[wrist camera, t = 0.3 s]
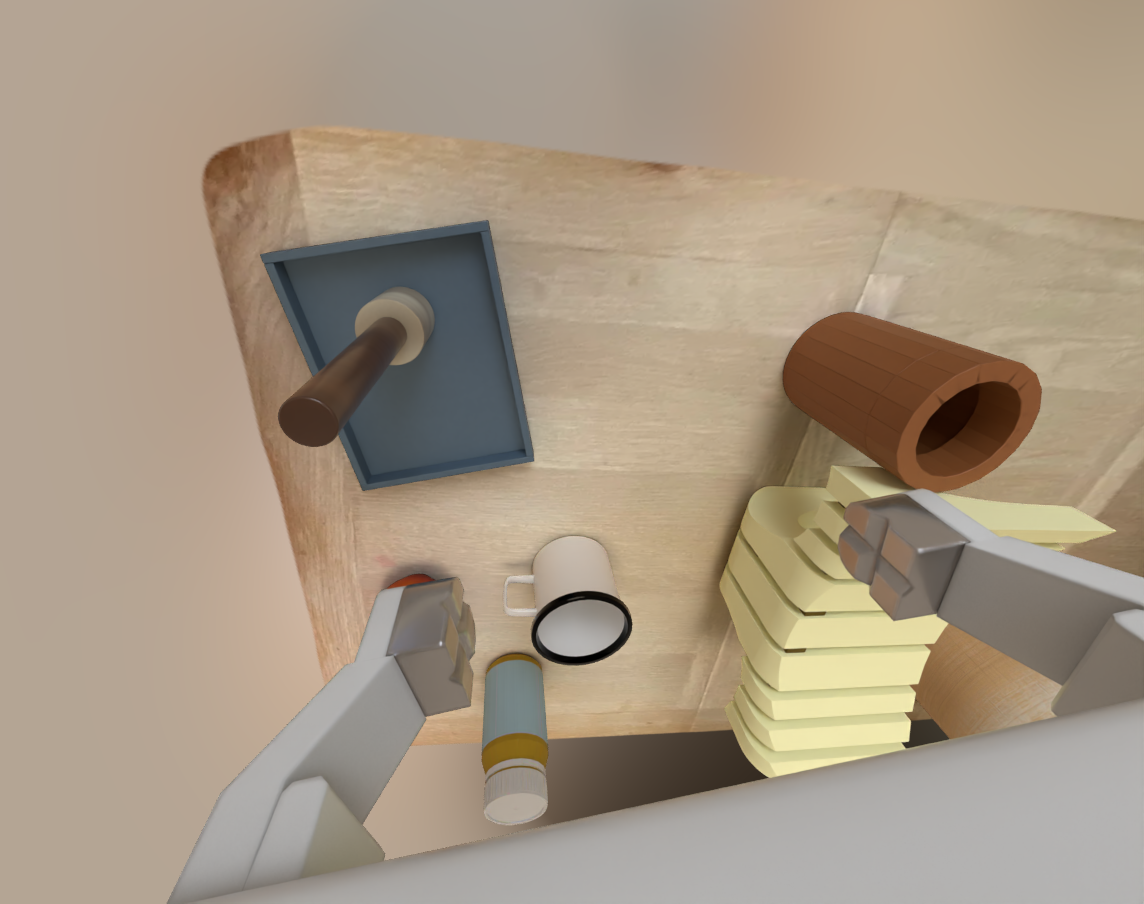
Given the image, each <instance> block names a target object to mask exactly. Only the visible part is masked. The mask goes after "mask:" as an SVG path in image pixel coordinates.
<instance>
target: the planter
mask: <svg viewBox="0 0 1144 904" xmlns="http://www.w3.org/2000/svg"><path fill="white" fill-rule="evenodd" d="M924 645H925V646H926V647H927V648H928V649H929V650H930V651H931V652H930V654H929V656H928V659H927V661H926V663H925V665H924V668H923V671H922V674H921V677H920V680H919V683H918V684H912V685H910V687H911V688H912V689H913V690H914V691H915V693H916V695H915V698H916V699H917V701H918V702H919V703H920V704H921V705H922V707H923V708H924V709H925V710H926V711H927V713H928V714H929V715H930V716H931V717H932V718H933V720H934V721H935V722H936V723H937V724H938V726H939V727H940V728H941V729H942V730H943V731H944V733H945V734H946V735H947V736H948V737H949V738H950V739H954V738H959V737H964V736H968V735H973V734H978V733H983V732H987V731H992V730H997V729H1001V728H1006V727H1011V726H1015V725H1020V724H1025V723H1029V722H1034V721H1039V720H1043V719H1048V718H1053V717H1057V716H1056V715H1055V714H1054V713H1053V712H1052V711H1051V702H1052V701H1053V699H1054V698H1055V696H1056V695H1057V693H1058V692H1059V690H1060V689H1061V688H1062V685H1060V684H1058V683H1056V682H1054V681H1053V680H1051V679H1049V678H1047V677H1045V676H1043V675H1042V674H1040V673H1038V672H1036V671H1034V670H1033V669H1031V668H1029V667H1027V666H1025V665H1024V664H1022V663H1020V662H1018V661H1016V660H1014V659H1013V658H1011V657H1009V656H1007V655H1005V654H1004V653H1002V652H1000V651H998V650H996V649H995V648H993V647H991V646H989V645H987V644H985V643H984V642H982V641H980V640H978V639H976V638H975V637H973V636H971V635H969V634H967V633H966V632H964V631H962V630H960V629H958V628H956V627H955V626H953V625H951V624H948V625H947V626H946V627H945V629H944V630H943V631H942V633H941V635H940V636H939V638H938V639H937V641H936V642H935V644H924Z"/></svg>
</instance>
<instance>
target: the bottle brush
mask: <svg viewBox="0 0 1144 904" xmlns="http://www.w3.org/2000/svg"><path fill="white" fill-rule="evenodd" d="M434 324H435V317H434V312H433V309H432V307H431V305H430V304H429V302H428V301H427V299H426V298H425V297H424V296H423V295H421V294H420V293H419V292H417V291H415V290H413V289H410V288H407V287H393V288H390V289H388V290H386V291H384V292H383V293H381V294H380V295H379V296H377V297H376V298H374V299H373V300H371V301H370V302H369V303H367V304H366V305H365V306H363V307H362V309H361V310H360V311H359V313H358V315H357V317H356V320H355V334H356V337H357V338H356V339H355V340H354V341H353V342H352V343H351V344H349V345H348V346H347V347H346V348H345V349H344V350H343V351H342V352H340V353H339V354H338V355H337V356H336V357H335V358H334V359H333V360H331V361H330V362H329V363H328V364H327V365H326V366H325V367H324V368H322V369H321V370H320V371H319V372H318V373H317V374H316V375H315V376H313V377H312V378H311V379H310V380H309V381H308V382H307V383H306V384H304V385H303V386H302V387H301V388H300V389H299V390H298V391H297V392H295V393H294V394H293V395H292V396H291V397H290V398H289V399H287V400H286V401H285V402H284V403H283V404H282V406H281V407H280V409H279V413H278V419H279V424H280V426H281V428H282V430H283V432H284V433H285V434H286V435H287V436H288V437H289V438H290V439H292V440H293V441H295V442H297V443H299V444H301V445H304V446H310V447H318V446H323V445H326V444H328V443H330V442H332V441H333V440H334V439H335V438H336V436H337V435H338V434H339V432H340V431H341V430H342V428H343V427H344V425H345V424H346V423H347V421H348V420H349V419H350V417H351V416H352V415H353V413H354V412H355V411H356V409H357V408H358V406H359V405H360V404H361V402H362V401H363V400H364V398H365V397H366V396H367V394H368V393H369V392H370V390H371V389H372V388H373V386H374V385H375V383H376V382H377V381H378V379H379V378H380V377H381V375H382V374H383V373H384V371H385V370H386V369H387V367H388V366H389V365H402V364H406V363H408V362H410V361H412V360H413V359H415V358H416V357H417V356H418V355H419V353H420V352H421V350H422V349H423V347H424V345H425V343H426V342H427V340H428V338H429V337H430V335H431V333H432V331H433V329H434Z"/></svg>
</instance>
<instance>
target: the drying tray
mask: <svg viewBox="0 0 1144 904" xmlns="http://www.w3.org/2000/svg"><path fill="white" fill-rule="evenodd" d="M260 256H261V259H262V261H263V263H264V265H265V268H266V270H267V272H268V274H269V277H270V279H271V281H272V284H273V286H274V288H275V291H276V293H277V295H278V297H279V300H280V302H281V304H282V307H283V309H284V311H285V313H286V316H287V318H288V320H289V323H290V325H291V327H292V329H293V332H294V334H295V336H296V339H297V341H298V343H299V346H300V348H301V350H302V352H303V355H304V357H305V359H306V362H307V364H308V366H309V368H310V371H311V373H312V375H313V376H315V375H316V374H317V373H318V372H319V371H320V370H321V369H322V368H324V367H325V366H326V365H327V364H328V363H329V362H330V361H331V360H333V359H334V358H335V357H336V356H337V355H338V354H339V353H340V352H342V351H343V350H344V349H345V348H346V347H347V346H348V345H349V344H351V343H352V342H353V341H354V340H355V339H356V338H357V337H356V334H355V320H356V317H357V315H358V313H359V311H360V310H361V309H362V307H363V306H365V305H366V304H367V303H369V302H370V301H371V300H373V299H374V298H376V297H377V296H379V295H380V294H381V293H383V292H384V291H386V290H388V289H390V288H393V287H407V288H410V289H413V290H415V291H417V292H419V293H420V294H421V295H423V296H424V297H425V298H426V299H427V301H428V302H429V304H430V305H431V307H432V309H433V312H434V317H435V324H434V329H433V331H432V333H431V335H430V337H429V338H428V340H427V342H426V343H425V345H424V347H423V349H422V350H421V352H420V353H419V355H418V356H417V357H416V358H415V359H413V360H412V361H410V362H408V363H406V364H402V365H389V366H388V367H387V369H386V370H385V371H384V373H383V374H382V375H381V377H380V378H379V379H378V381H377V382H376V383H375V385H374V386H373V388H372V389H371V390H370V392H369V393H368V394H367V396H366V397H365V398H364V400H363V401H362V402H361V404H360V405H359V406H358V408H357V409H356V411H355V412H354V413H353V415H352V416H351V417H350V419H349V420H348V421H347V423H346V424H345V425H344V427H343V428H342V430H341V431H340V432H339V434H338V435H339V437H340V440H341V442H342V444H343V446H344V449H345V451H346V453H347V456H348V458H349V460H350V462H351V465H352V467H353V469H354V472H355V474H356V476H357V479H358V481H359V483H360V485H361V488H362V490H363V491H365V490H371V489H377V488H383V487H389V486H394V485H400V484H406V483H412V482H417V481H423V480H429V479H435V478H441V477H446V476H452V475H458V474H464V473H470V472H475V471H481V470H487V469H493V468H498V467H504V466H510V465H516V464H522V463H527V462H533V461H534V453H533V447H532V442H531V437H530V431H529V426H528V421H527V416H526V411H525V406H524V401H523V396H522V390H521V385H520V380H519V375H518V370H517V365H516V360H515V355H514V349H513V344H512V339H511V334H510V329H509V324H508V319H507V314H506V308H505V303H504V298H503V293H502V288H501V283H500V278H499V272H498V267H497V262H496V257H495V252H494V247H493V242H492V237H491V231H490V226H489V221H488V220H486V221H479V222H472V223H465V224H458V225H451V226H445V227H438V228H431V229H424V230H417V231H411V232H404V233H397V234H390V235H383V236H377V237H370V238H363V239H356V240H349V241H343V242H336V243H329V244H322V245H315V246H309V247H302V248H295V249H288V250H281V251H275V252H269V253H265V254H260Z"/></svg>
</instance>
